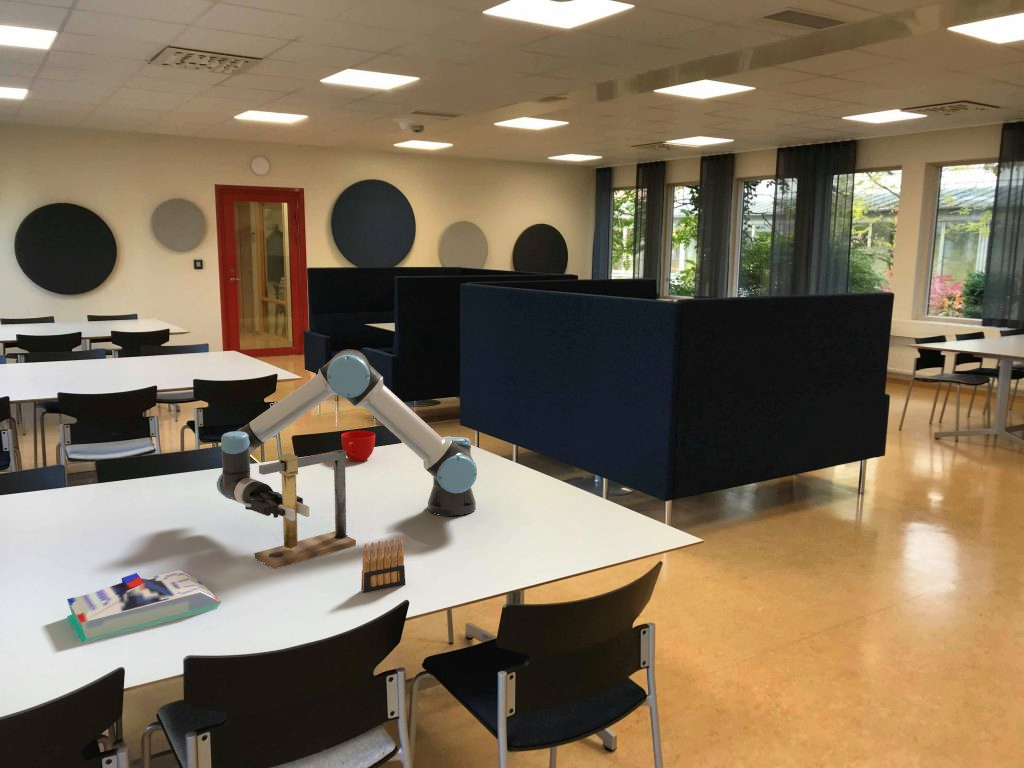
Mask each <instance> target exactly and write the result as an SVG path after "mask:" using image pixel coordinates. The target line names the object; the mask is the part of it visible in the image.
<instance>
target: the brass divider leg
mask: <svg viewBox="0 0 1024 768" xmlns="http://www.w3.org/2000/svg"><path fill="white" fill-rule="evenodd" d="M298 458H299V457H298V455H295V454H292V453H285V454H279V455H278V462H281V461H286V470H285V471H280V472H278V473H279V474H281V494H282V504H283V505H284V506H286V507H289V508H291V509H293V510H295V520H294V521H292V520H289V519H287V518H285V517H283V516H282V529H283V545H284V547H286V548H289V549H292V548H293V547H296V546H298V541H299V540H298V539H299V537H298V536H299V535H298V533H299V532H298V513H297V496H298V495H297V476H298V475H299V468H298Z"/></svg>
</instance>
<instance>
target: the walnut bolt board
mask: <svg viewBox="0 0 1024 768" xmlns="http://www.w3.org/2000/svg"><path fill="white" fill-rule="evenodd" d="M354 545H355V546H357V540H356V539H355V538H353V537H350V536H349V535H347V534H346V537H345V538H336V537H335V530H334V531H331V532H327V533H324V534H323V533H322V534H320V535H316V536H312V537H308V538H305V539H302V540H298V546H296V547H293V548H292V549H289V548H286V547H284V544H282V545H278V546H275V547H272V548H268V549H265V550H261V551H257V552H254V553H253V554H254V556H253V557H254V559H255V560H256V559H257V560H256V561H258V560H259V562H260V561H261V562H260V563H262V562H263V563H262V564H264V563H265V564H264V565H266V566H268V567H269V568H271V569H272V570H273V569H274V570H276V569H279V568H282V567H283V568H284V567H286V566H290V565H293V563H294V564H296V563H300V562H302V561H307V560H310V559H314V558H318V557H320V556H324V555H326V554H330V553H334V552H337V551H341V550H345V549H347V548H351V547H355V546H354Z"/></svg>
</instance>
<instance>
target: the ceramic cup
mask: <svg viewBox="0 0 1024 768" xmlns="http://www.w3.org/2000/svg"><path fill="white" fill-rule="evenodd" d="M340 437H341V447H342V450H344V451H346V458H348V459H349V460H350V462H366V461H368V459H369V458H370V457H371V456H372V454H373V451H374V449H375V444H376V433H375V432H373V431H368V430H353V431H352V430H351V431H347V432H343V433H341V435H340ZM365 460H366V461H365Z"/></svg>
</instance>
